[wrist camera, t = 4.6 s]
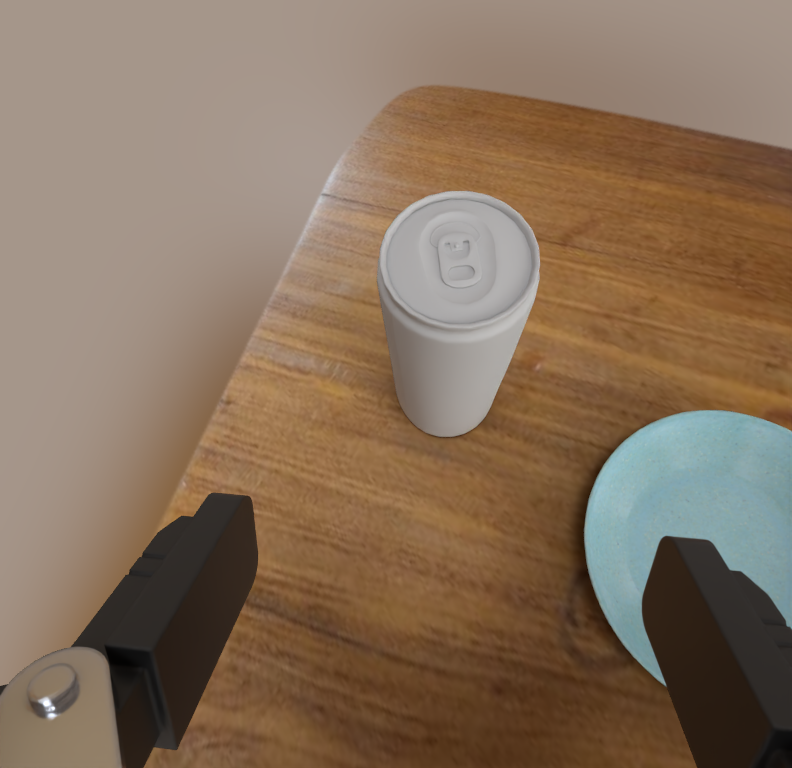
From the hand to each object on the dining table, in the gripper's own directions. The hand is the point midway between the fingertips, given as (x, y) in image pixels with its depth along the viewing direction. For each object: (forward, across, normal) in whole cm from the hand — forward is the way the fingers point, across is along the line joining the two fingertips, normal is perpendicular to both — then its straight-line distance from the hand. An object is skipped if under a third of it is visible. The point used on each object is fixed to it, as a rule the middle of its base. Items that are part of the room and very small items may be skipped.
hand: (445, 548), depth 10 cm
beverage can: (+16, 0, +4) cm, 16 cm away
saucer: (+11, -12, +9) cm, 18 cm away
